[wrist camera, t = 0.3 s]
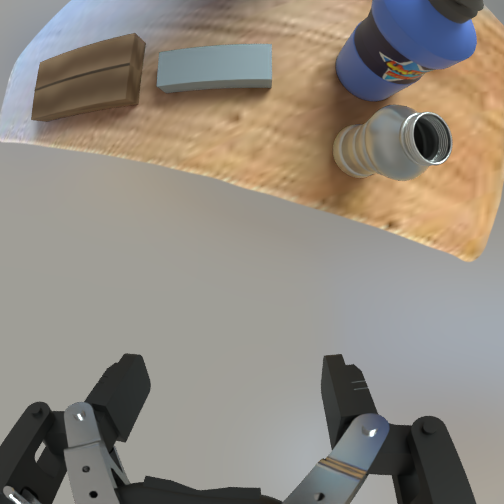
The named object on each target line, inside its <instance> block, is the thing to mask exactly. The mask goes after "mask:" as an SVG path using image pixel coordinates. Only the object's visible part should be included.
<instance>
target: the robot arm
mask: <svg viewBox="0 0 504 504" xmlns="http://www.w3.org/2000/svg"><path fill="white" fill-rule="evenodd" d="M150 387H151V384H150V379H149V376H148V373H147V369H146V366H145V363H144V360H143V357H142V356H141V355H137V354H124V355H123V357H122V358H121V359H120V361H119V362H118V363H114V364H113V365H112V366H111V367H109V368H107V370H106V371H105V373H104V374H103V375H102V377H101V378H100V380H99V381H98V383H97V384H96V385H95V387H94V388H93V390H92V391H91V393H90V394H89V395H88V397H87V399H86V400H85V401H84V402H77V403H74V404H72V405H70V406H69V407H68V408H67V409H66V410H65V411H51V410H50V408H49V406H48V405H47V404H46V403H44V402H36V403H33V404H31V405H30V406H28V408H27V409H26V410H25V412H24V413H23V414H22V416H21V417H20V419H19V420H18V421H17V423H16V424H15V425H14V427H13V428H12V430H11V431H10V433H9V434H8V436H7V437H6V438H5V440H4V441H3V443H2V444H1V446H0V504H52V503H53V500H54V498H55V496H56V493H57V491H58V489H59V487H60V484H61V482H62V480H63V478H64V476H65V474H66V472H67V471H68V476H69V481H70V485H71V489H72V493H73V497H74V501H75V504H350V503H351V501H352V500H353V498H354V497H355V495H356V494H357V492H358V491H359V489H360V488H361V486H362V485H363V483H364V481H365V480H366V478H367V476H368V475H369V474H378V475H392V479H393V483H394V488H395V493H396V498H397V503H398V504H476V502H475V499H474V495H473V493H472V490H471V487H470V484H469V482H468V479H467V476H466V473H465V471H464V469H463V466H462V463H461V461H460V458H459V456H458V453H457V451H456V449H455V446H454V444H453V442H452V439H451V437H450V435H449V432H448V430H447V428H446V426H445V424H444V423H443V421H441V420H440V419H439V418H436V417H433V416H424V417H421V418H418V419H417V420H416V421H415V422H414V423H413V425H412V426H409V425H394V424H390V423H388V421H387V420H386V419H385V418H384V417H382V416H380V415H378V413H377V410H376V407H375V405H374V402H373V399H372V397H371V394H370V392H369V389H368V386H367V384H366V381H365V379H364V376H363V374H362V371H361V370H360V369H358V368H357V367H356V366H355V365H354V364H353V365H345V362H344V359H343V357H342V354H337V355H326V356H324V358H323V368H322V379H321V394H322V400H323V404H324V410H325V415H326V421H327V426H328V431H329V437H330V443H331V448H332V452H331V453H330V454H329V456H328V457H327V458H326V459H321V460H320V461H319V462H318V463H317V464H316V465H315V467H314V468H313V469H312V470H311V471H310V473H309V474H308V475H307V476H306V477H305V478H304V480H303V481H302V482H301V483H300V484H299V485H298V486H297V488H296V489H295V490H294V491H293V492H292V493H291V494H290V495H289V496H288V498H286V500H284V502H282V501H280V500H277V499H275V498H272V497H269V496H265V495H261V489H260V488H240V487H239V488H238V487H228V488H219V489H211V490H196V489H193V488H190V487H187V486H185V485H182V484H179V483H177V482H174V481H171V480H165V479H160V478H155V477H150V476H146V477H145V479H144V482H139V483H132V484H131V483H130V482H129V480H128V478H127V476H126V473H125V471H124V468H123V466H122V463H121V461H120V458H119V455H118V453H117V450H116V448H115V446H114V444H115V442H116V440H117V441H121V442H126V441H127V439H128V436H129V434H130V432H131V430H132V428H133V426H134V423H135V422H136V419H137V417H138V415H139V413H140V410H141V409H142V407H143V404H144V403H145V400H146V398H147V396H148V394H149V392H150ZM42 441H43V443H44V444H45V445H46V447H45V449H44V450H43V452H42V454H41V456H40V458H39V460H38V461H37V463H36V461H35V453H36V451H37V449H38V448H39V446H40V444H41V443H42Z"/></svg>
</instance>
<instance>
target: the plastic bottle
mask: <svg viewBox="0 0 504 504" xmlns="http://www.w3.org/2000/svg"><path fill="white" fill-rule="evenodd" d="M451 150H452V135H451V132H450V129H449V127H448V125H447V124H446V122H445V121H444V120H443V119H442V118H441V117H440V116H439V115H437V114H435V113H431V112H423V113H418V112H417V111H415V110H414V109H412V108H409V107H407V106H401V105H388V106H385V107H383V108H381V109H380V110H378V111H377V112H376V113H375V114H374V115H373V116H372V117H371V118H370V119H369V120H368V121H367V122H366V123H365V124H355V125H350V126H347V127H345V128H344V129H342V130H341V131H340V132H339V133H338V135H337V137H336V139H335V141H334V144H333V156H334V160H335V162H336V164H337V165H338V167H339V168H340V169H341V170H342V171H343V172H345V173H346V174H347V175H349V176H351V177H355V178H365V177H368V176H371V175H373V174H375V173H377V174H381V175H383V176H386V177H388V178H391V179H394V180H398V181H408V180H412V179H414V178H416V177H418V176H420V175H421V174H422V173H424V172H425V171H426V169H427V168H428V167H429V166H431V165H439V164H442V163H444V162H445V161H446V160H447V159H448V157H449V156H450V154H451Z"/></svg>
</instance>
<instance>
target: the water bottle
mask: <svg viewBox="0 0 504 504" xmlns="http://www.w3.org/2000/svg"><path fill="white" fill-rule="evenodd" d="M483 6H484V4H483V0H372V7H371V10H370V12H369V15H368V17H367V18H366V19H365V20H363V21H362V22H360V23H359V24H358V26H357V27H356V28H355V30H354V31H353V33H352V34H351V36H350V37H349V39H348V40H347V42H346V43H345V45H344V46H343V48H342V50H341V51H340V53H339V55H338V56H337V59H336V72H337V75H338V78H339V80H340V81H341V83H342V85H343V86H344V87H345V88H346V89H347V90H348V91H349V92H350V93H352V94H353V95H355V96H356V97H358V98H360V99H363V100H367V101H381V100H384V99H386V98H388V97H390V96H391V95H393V94H395V93H397V92H399V91H401V90H402V89H404V88H406V87H408V86H410V85H411V84H413V83H415V82H416V81H418V80H419V79H420V78H421V77H422V76H423V75H424V74H425V73H426V72H429V71H432V70H436V69H445V68H448V67H450V66H452V65H454V64H457V63H459V62H461V61H463V60H465V59H467V58H469V57H470V56H471V55H472V54H473V53H474V51H475V48H476V44H477V41H476V33H475V28H474V26H473V23H472V21H471V19H472V18H473V17H475V16H476V15H477V12H478V11H480V10H482V9H483Z"/></svg>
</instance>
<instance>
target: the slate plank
mask: <svg viewBox="0 0 504 504" xmlns="http://www.w3.org/2000/svg"><path fill="white" fill-rule="evenodd" d="M271 86H272V44H234V45H217V46H204V47H194V48H186V49H178V50H171V51H165V52H159V62H158V74H157V87H158V88H160V89H161V90H162V91H164V92H165V93H172V92H181V91H192V90H204V89H221V88H271Z"/></svg>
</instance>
